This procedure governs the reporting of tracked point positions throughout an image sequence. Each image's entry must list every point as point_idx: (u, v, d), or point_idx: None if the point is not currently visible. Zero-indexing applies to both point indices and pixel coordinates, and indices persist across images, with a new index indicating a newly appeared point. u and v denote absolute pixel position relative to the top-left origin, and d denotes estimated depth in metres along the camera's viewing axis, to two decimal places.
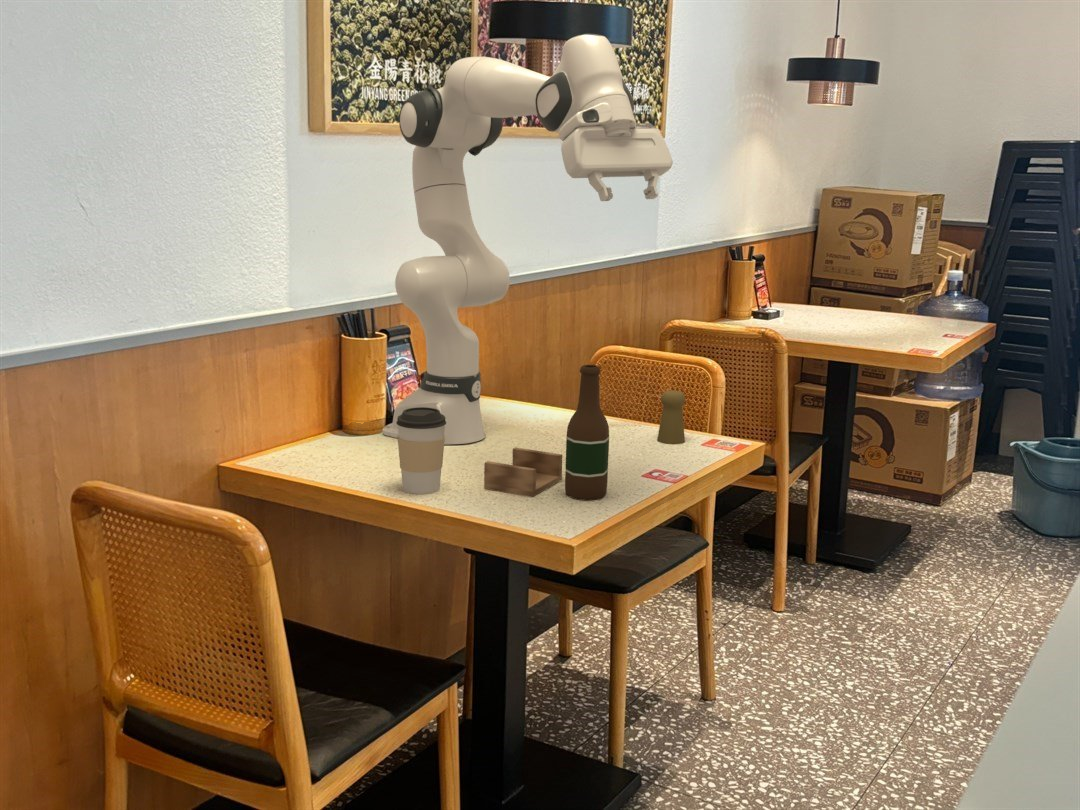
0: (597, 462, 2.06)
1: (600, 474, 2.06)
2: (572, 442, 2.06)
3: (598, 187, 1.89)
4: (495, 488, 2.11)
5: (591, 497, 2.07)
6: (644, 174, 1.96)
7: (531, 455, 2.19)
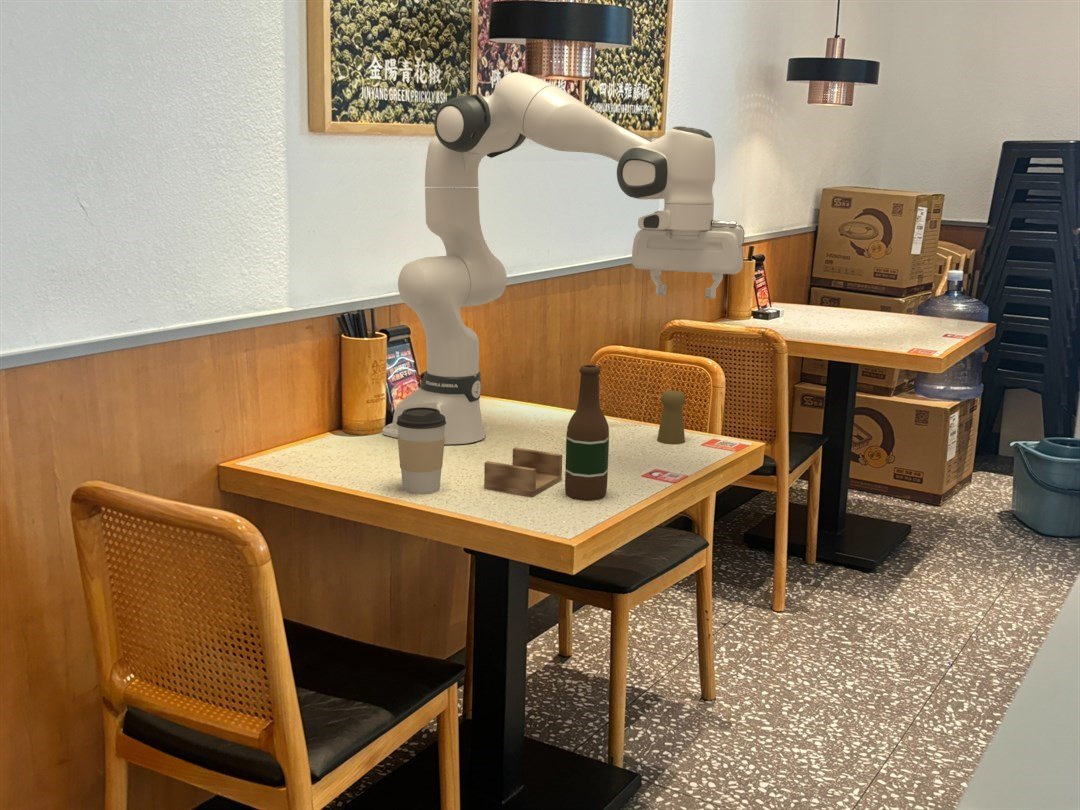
0: (597, 462, 2.06)
1: (600, 474, 2.06)
2: (572, 442, 2.06)
3: None
4: (495, 488, 2.11)
5: (591, 497, 2.07)
6: None
7: (531, 455, 2.19)
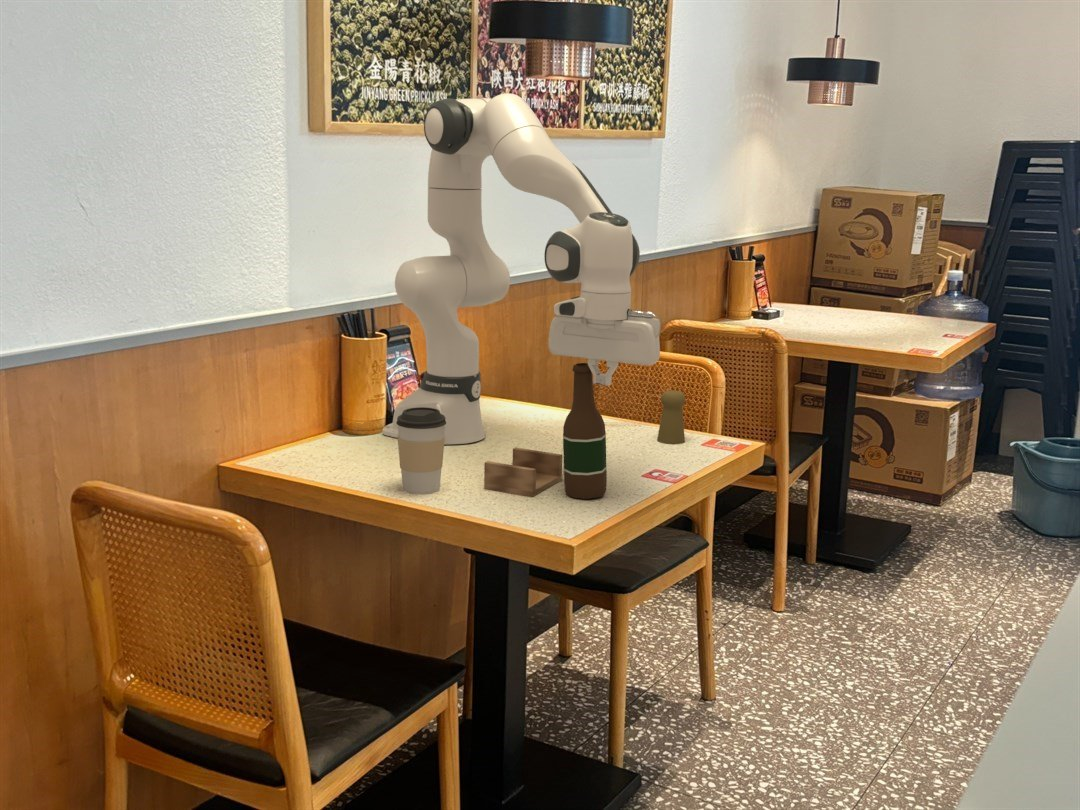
0: (595, 460, 2.06)
1: (598, 472, 2.07)
2: (568, 441, 2.06)
3: None
4: (495, 488, 2.11)
5: (591, 495, 2.07)
6: None
7: (531, 455, 2.19)
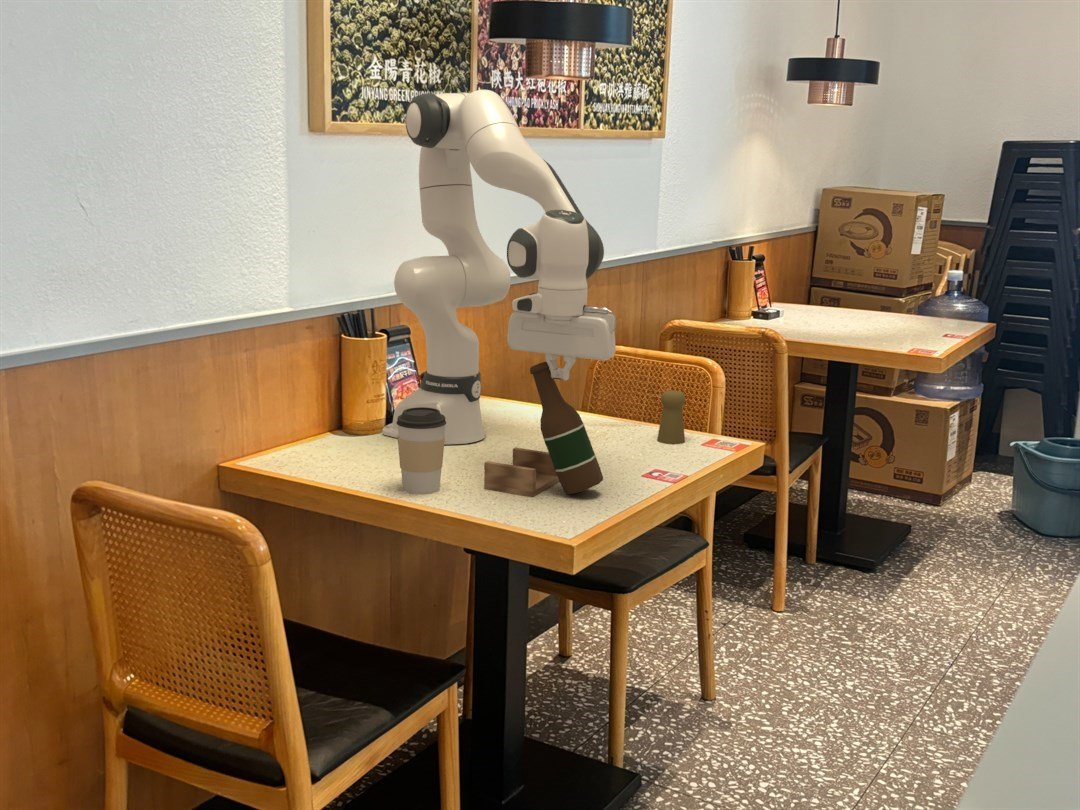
0: (579, 450, 2.06)
1: (587, 460, 2.07)
2: (549, 441, 2.07)
3: None
4: (495, 488, 2.11)
5: (588, 485, 2.07)
6: None
7: (531, 455, 2.19)
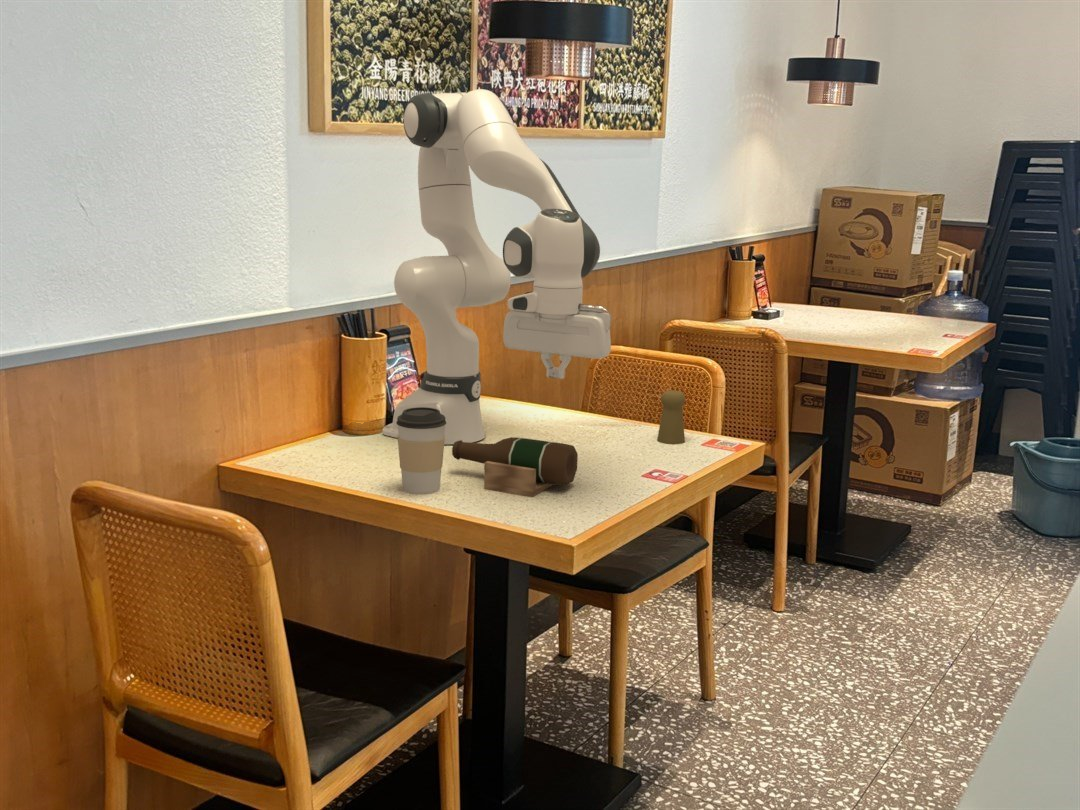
0: (536, 441, 2.14)
1: (549, 442, 2.14)
2: (511, 459, 2.12)
3: None
4: (495, 488, 2.11)
5: (567, 448, 2.11)
6: None
7: None
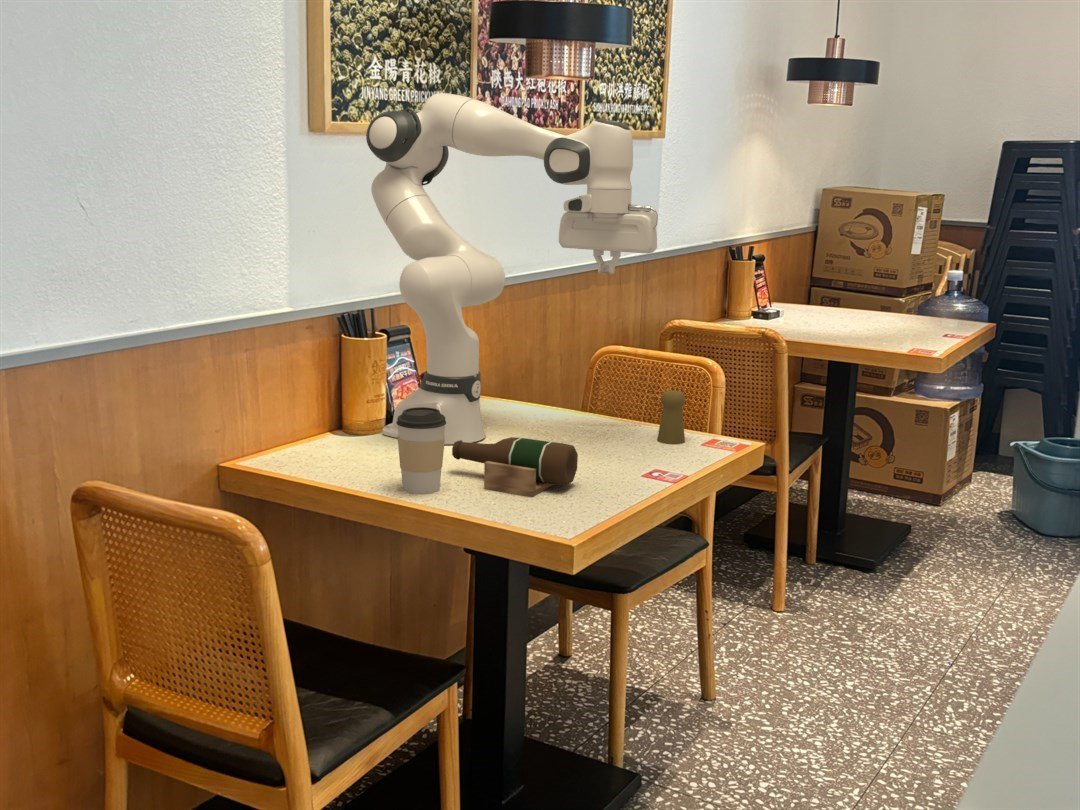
0: (536, 441, 2.14)
1: (549, 442, 2.14)
2: (511, 459, 2.12)
3: None
4: (495, 488, 2.11)
5: (567, 448, 2.11)
6: None
7: None
